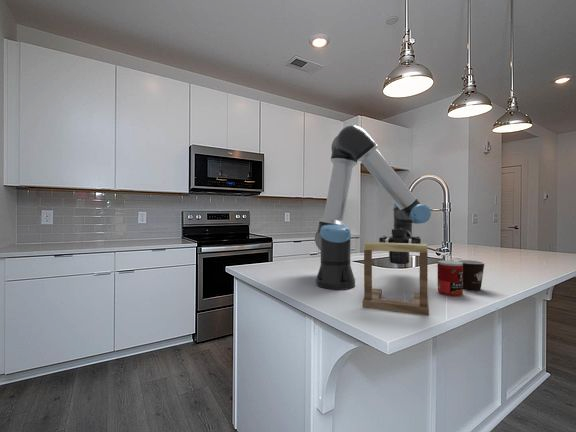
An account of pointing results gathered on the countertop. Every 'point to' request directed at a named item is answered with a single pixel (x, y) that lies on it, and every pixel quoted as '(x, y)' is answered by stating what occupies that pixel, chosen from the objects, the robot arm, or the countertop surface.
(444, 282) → the canned food
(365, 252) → the notched shelf
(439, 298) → the countertop surface
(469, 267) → the coffee mug
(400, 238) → the supplement bottle
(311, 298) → the countertop surface
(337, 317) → the countertop surface
